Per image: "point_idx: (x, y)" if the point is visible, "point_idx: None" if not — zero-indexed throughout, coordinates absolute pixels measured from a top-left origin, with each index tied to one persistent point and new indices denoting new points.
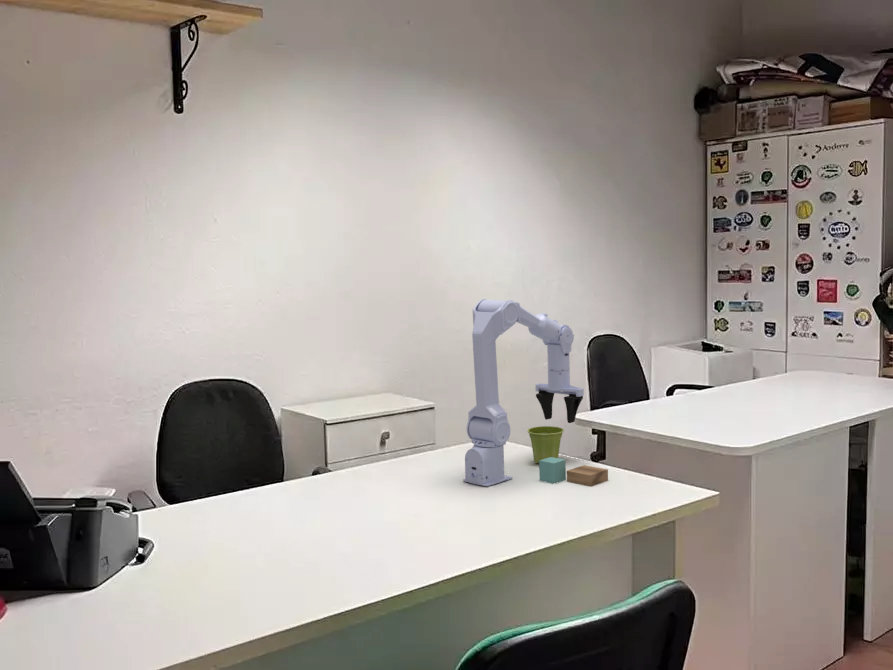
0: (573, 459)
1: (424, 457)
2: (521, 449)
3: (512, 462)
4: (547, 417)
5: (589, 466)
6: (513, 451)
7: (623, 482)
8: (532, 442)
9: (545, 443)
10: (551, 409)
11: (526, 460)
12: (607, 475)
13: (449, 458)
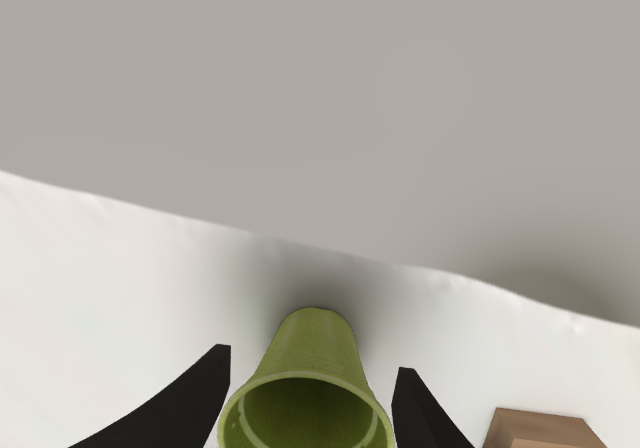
0: (374, 265)
1: (4, 437)
2: (132, 232)
3: (230, 381)
4: (225, 388)
5: (538, 445)
6: (132, 270)
7: (634, 418)
8: (280, 437)
9: (340, 442)
10: (202, 387)
11: (248, 345)
12: (593, 435)
13: (60, 419)
